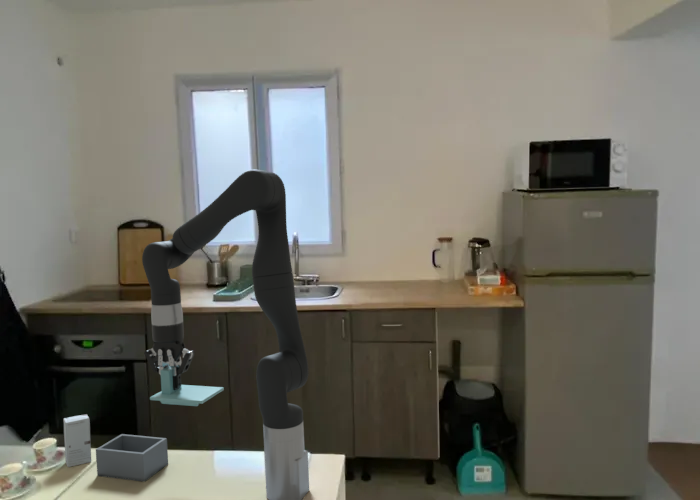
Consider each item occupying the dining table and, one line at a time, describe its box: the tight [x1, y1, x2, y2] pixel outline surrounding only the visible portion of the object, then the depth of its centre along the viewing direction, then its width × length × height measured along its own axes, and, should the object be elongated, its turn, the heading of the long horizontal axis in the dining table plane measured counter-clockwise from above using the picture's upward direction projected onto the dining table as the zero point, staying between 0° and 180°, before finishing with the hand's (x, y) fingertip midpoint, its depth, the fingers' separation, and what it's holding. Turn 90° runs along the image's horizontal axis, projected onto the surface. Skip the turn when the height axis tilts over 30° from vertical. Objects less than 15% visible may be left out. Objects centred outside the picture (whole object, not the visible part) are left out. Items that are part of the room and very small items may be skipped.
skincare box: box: [63, 413, 92, 468], centre depth 156 cm, size 6×4×12 cm
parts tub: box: [95, 433, 169, 483], centre depth 150 cm, size 14×10×7 cm
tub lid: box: [149, 365, 225, 407], centre depth 144 cm, size 14×10×8 cm
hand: (171, 388), depth 146 cm, fingers closed on tub lid
